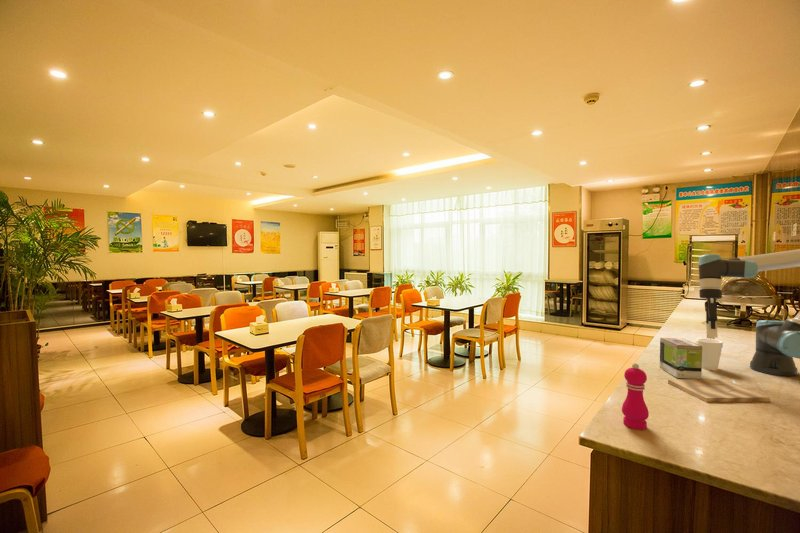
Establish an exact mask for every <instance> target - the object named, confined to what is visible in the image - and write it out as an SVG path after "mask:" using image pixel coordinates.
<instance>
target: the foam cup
mask: <svg viewBox="0 0 800 533" xmlns="http://www.w3.org/2000/svg"><path fill="white" fill-rule="evenodd" d="M695 340H696V344H698V345H701V346H702V370H703V369H705V370H709V371H718V369H719V364H720V361H721V360H720V359H721V355H722V349H723V348H724V347H723V340H719V339H716V338H715V339H709V338H707V337H706V338H704V337H703V338H699V337H697V338H696V339H695Z"/></svg>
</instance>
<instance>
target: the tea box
mask: <svg viewBox="0 0 800 533" xmlns="http://www.w3.org/2000/svg"><path fill="white" fill-rule="evenodd" d="M659 339H660V341H659V344H660V346H659V368H660V369H662V370H663V371H665V372H666V373H668V374H669V375H671V376H673V377H675V378H677V379H684V380H689V379H702V374H703V372H702V370H703V368H702V346H701V345H698V344H696V343H695V342H692V341H690V340H687V339H686V338H678V337H677V338H676V337H675V338H674V337H660V338H659Z"/></svg>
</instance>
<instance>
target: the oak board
mask: <svg viewBox="0 0 800 533" xmlns="http://www.w3.org/2000/svg"><path fill="white" fill-rule="evenodd" d="M667 383H668V384H669V385H671V386H673V387H674V388H677V389H679V390H681V391H683V392H684V393H687V394H689V395H691V396H693V397H695V398H697V399H699V400H701V401H703V402H705V403H729V402H730V403H731V402H732V403H734V402H735V403H737V402H738V403H740V402H742V403H743V402H746V403H747V402H748V403H749V402H751V403H753V402H770V401H771V400H770V397H769V396H768V395H765V394H763V393H759V392H757V391H755V390H752V389H749V388H747V387H745V386H743V385H739V384H737V383H734V382H732V381H729V380H727V379H723V378H720V379H719V378H717V379H715V378H711V379H710V378H709V379H707V378H705V379H704V378H703V379H702V378H701V379H668V380H667Z"/></svg>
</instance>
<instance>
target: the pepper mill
mask: <svg viewBox="0 0 800 533" xmlns="http://www.w3.org/2000/svg"><path fill="white" fill-rule="evenodd" d="M623 377H624V379H625V380H626V382H625V384H626V385H625V386H626V388H627V394H626V397H625V399H624V401H623V403H622V406H621V412H622V414H623V425H625V426H626V427H627V426H628V428H630V429H632V428H633V429H632V430H638V431H641V430H642V431H643V430H644V431H645V430H646V429H647V427H648V422H647V419H648V418H649V417H650V414H649V413H650V412H649V409H648V406H647V404H646V402H645V399H644V391H645V383H646V382H647V380H648V378H647V374H646V372H645V371H644V370H643V369H641V368H640V365H639V364H638V363H636V362H635V363H633V364H632V366H631V367H629V368H627V369H625V371H624V376H623Z"/></svg>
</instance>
